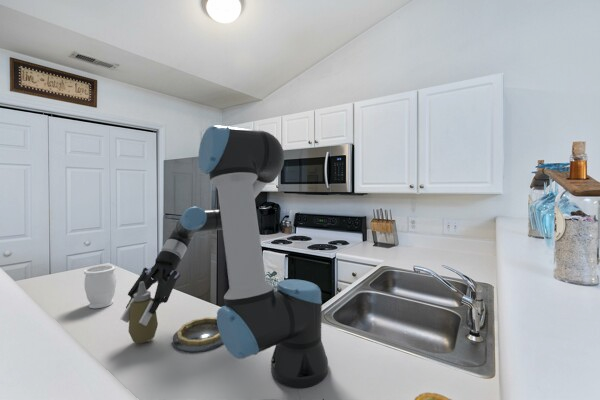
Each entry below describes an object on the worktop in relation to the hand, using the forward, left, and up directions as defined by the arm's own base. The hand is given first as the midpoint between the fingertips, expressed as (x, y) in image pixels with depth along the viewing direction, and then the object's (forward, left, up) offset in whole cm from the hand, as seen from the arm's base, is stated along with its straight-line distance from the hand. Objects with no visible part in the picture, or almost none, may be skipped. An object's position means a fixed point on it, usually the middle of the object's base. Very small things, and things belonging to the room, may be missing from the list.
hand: (133, 322), depth 84 cm
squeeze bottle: (+1, -3, -7) cm, 8 cm away
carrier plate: (-12, -15, -8) cm, 21 cm away
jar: (+43, -9, -8) cm, 45 cm away
